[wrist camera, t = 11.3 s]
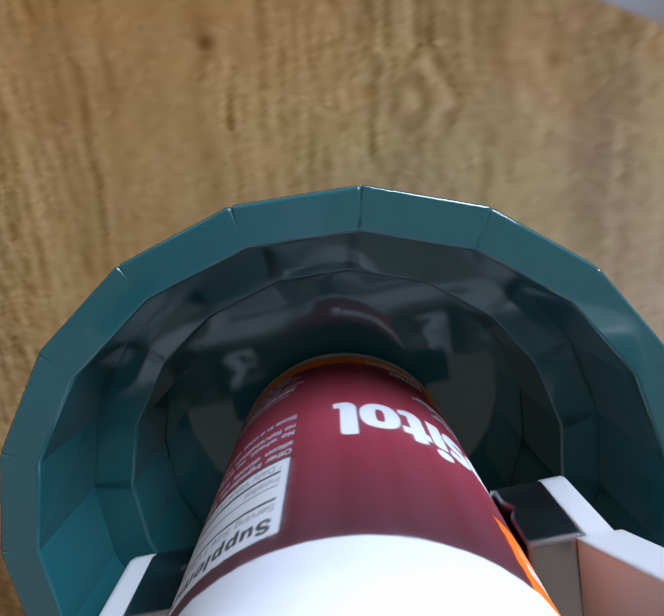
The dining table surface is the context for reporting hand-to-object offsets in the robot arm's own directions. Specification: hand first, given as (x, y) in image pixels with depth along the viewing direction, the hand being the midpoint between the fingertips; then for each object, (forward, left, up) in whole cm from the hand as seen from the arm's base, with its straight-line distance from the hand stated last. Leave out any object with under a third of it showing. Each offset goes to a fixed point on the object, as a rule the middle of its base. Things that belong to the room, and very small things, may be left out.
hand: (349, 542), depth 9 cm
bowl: (0, 0, -5) cm, 5 cm away
